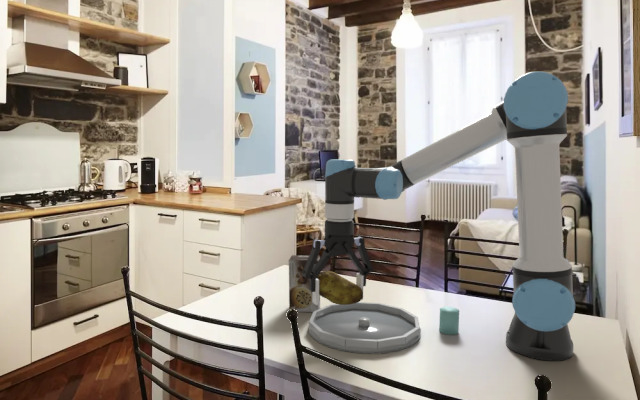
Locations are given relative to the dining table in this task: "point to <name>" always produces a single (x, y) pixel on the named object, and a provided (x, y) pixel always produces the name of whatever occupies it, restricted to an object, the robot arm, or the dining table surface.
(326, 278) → the potato
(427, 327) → the dining table surface
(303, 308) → the coffee box
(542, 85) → the robot arm
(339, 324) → the ring tray
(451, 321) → the bead
